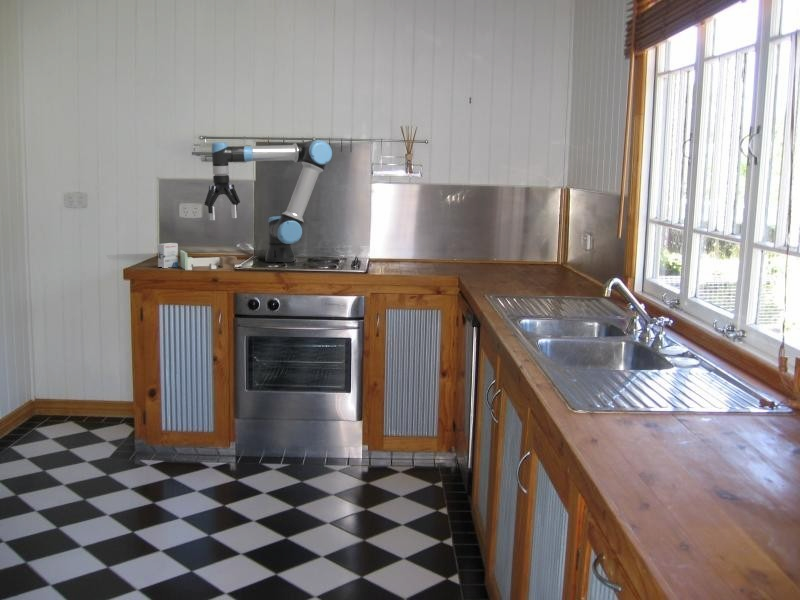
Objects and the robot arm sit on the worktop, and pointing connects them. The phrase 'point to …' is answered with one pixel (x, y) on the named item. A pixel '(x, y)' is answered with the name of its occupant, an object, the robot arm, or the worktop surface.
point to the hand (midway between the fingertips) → (223, 219)
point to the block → (227, 261)
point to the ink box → (168, 255)
